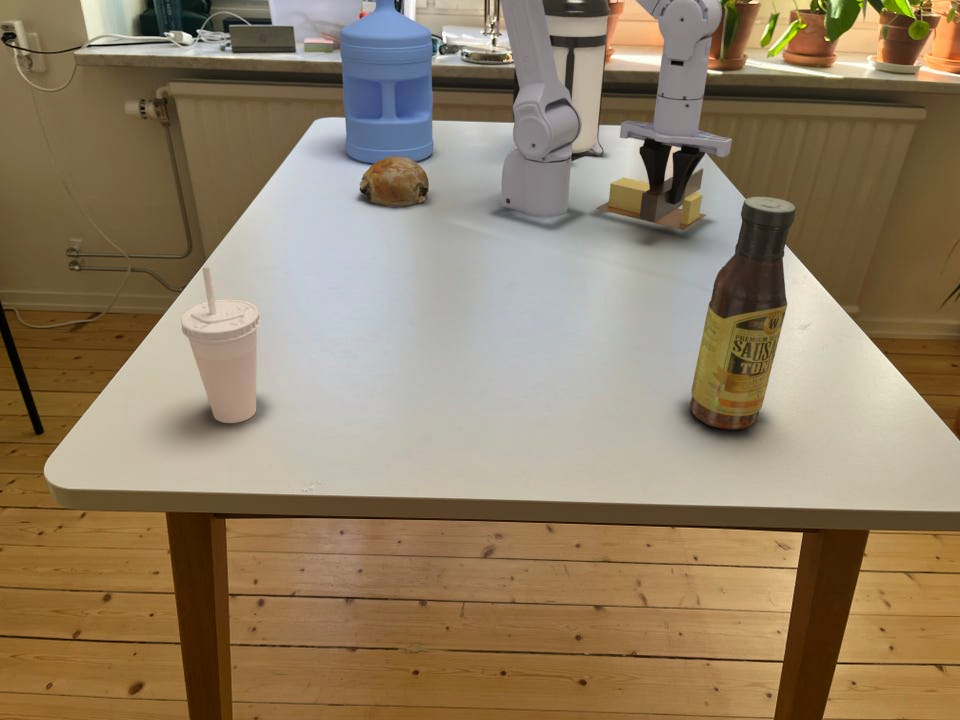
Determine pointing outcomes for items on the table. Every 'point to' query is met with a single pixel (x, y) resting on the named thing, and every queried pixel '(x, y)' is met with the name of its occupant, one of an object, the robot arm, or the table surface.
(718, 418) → the sauce bottle
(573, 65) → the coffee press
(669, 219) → the cutting board
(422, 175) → the bread roll
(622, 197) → the butter block
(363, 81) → the water jug
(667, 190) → the knife
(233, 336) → the smoothie
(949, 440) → the table surface
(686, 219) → the butter slice
